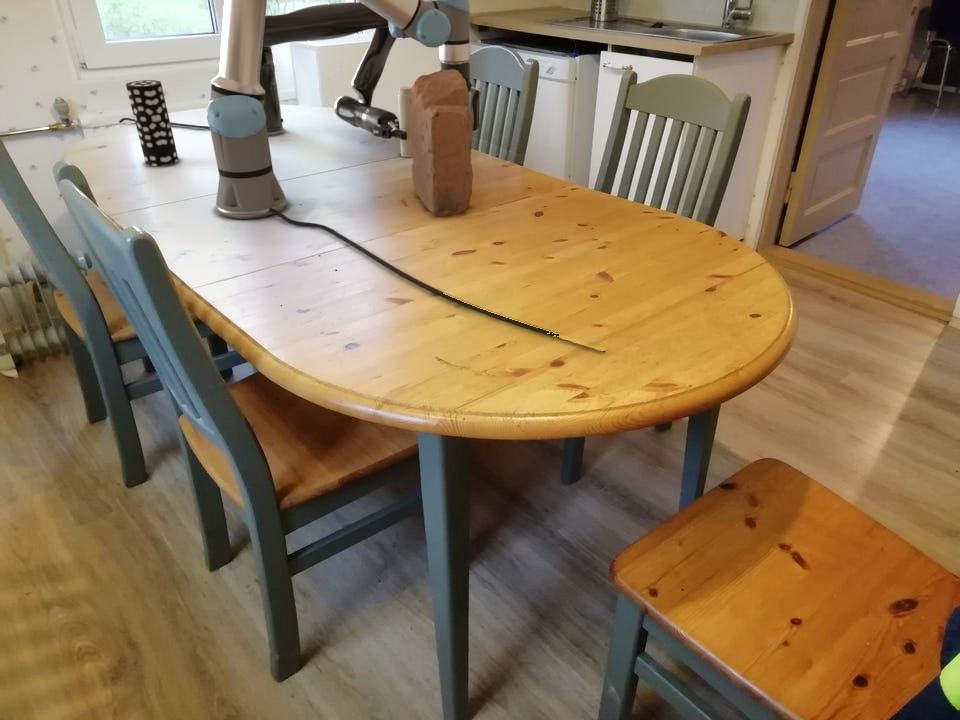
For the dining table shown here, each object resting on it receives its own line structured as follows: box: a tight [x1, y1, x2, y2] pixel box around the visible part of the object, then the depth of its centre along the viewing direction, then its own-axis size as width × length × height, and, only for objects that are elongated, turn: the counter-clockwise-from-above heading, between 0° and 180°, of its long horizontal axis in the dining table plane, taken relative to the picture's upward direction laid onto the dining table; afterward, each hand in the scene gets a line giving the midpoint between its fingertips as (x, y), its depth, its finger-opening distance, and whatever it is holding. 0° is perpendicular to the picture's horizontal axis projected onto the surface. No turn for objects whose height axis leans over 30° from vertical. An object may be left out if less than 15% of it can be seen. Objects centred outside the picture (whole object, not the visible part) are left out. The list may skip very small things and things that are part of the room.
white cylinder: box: [397, 86, 412, 158], centre depth 190 cm, size 4×4×18 cm
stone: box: [409, 69, 474, 217], centre depth 155 cm, size 22×11×28 cm, turn 18°
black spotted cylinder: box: [125, 79, 179, 167], centre depth 181 cm, size 8×8×20 cm
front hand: (456, 155), depth 183 cm, fingers closed on lid, 5 cm apart
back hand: (412, 134), depth 189 cm, fingers closed on white cylinder, 4 cm apart
